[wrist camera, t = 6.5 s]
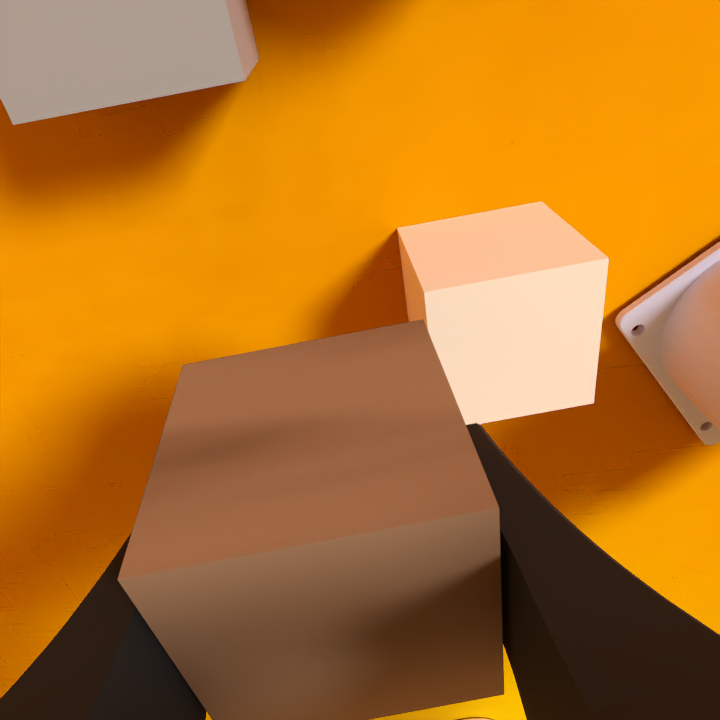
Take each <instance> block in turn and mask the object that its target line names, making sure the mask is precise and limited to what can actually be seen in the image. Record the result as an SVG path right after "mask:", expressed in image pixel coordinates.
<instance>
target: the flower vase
mask: <svg viewBox="0 0 720 720" xmlns="http://www.w3.org/2000/svg"><path fill="white" fill-rule="evenodd" d="M462 720H492V719H486V718H470V719H462Z"/></svg>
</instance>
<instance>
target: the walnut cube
mask: <svg viewBox="0 0 720 720" xmlns="http://www.w3.org/2000/svg"><path fill="white" fill-rule="evenodd" d="M117 580H118V581H119V583H120V584H121V586H122V587H123V589H124V590H125V592H126V593H127V595H128V596H129V597H130V599H131V600H132V602H133V603H134V605H135V606H136V608H137V609H138V611H139V612H140V614H141V615H142V617H143V618H144V620H145V621H146V623H147V624H148V625H149V627H150V628H151V630H152V631H153V633H154V634H155V636H156V637H157V639H158V640H159V642H160V643H161V645H162V646H163V648H164V649H165V651H166V652H167V653H168V655H169V656H170V658H171V659H172V661H173V662H174V664H175V665H176V667H177V668H178V670H179V671H180V673H181V674H182V676H183V677H184V679H185V680H186V681H187V683H188V684H189V686H190V687H191V689H192V690H193V692H194V693H195V695H196V696H197V698H198V699H199V701H200V702H201V704H202V705H203V707H204V708H205V709H206V711H207V712H208V714H209V715H210V717H211V718H212V720H369V719H374V718H380V717H385V716H390V715H396V714H401V713H407V712H412V711H417V710H423V709H428V708H433V707H439V706H444V705H449V704H455V703H460V702H465V701H471V700H476V699H482V698H487V697H492V696H498V695H503V694H504V671H503V633H502V594H501V556H500V518H499V506H498V503H497V501H496V498H495V496H494V494H493V491H492V489H491V486H490V484H489V481H488V479H487V476H486V474H485V471H484V469H483V466H482V464H481V461H480V459H479V456H478V454H477V451H476V449H475V446H474V444H473V441H472V439H471V436H470V434H469V432H468V429H467V427H466V424H465V422H464V419H463V417H462V414H461V412H460V409H459V407H458V404H457V402H456V399H455V397H454V394H453V392H452V389H451V387H450V384H449V382H448V379H447V377H446V375H445V372H444V370H443V367H442V365H441V362H440V360H439V357H438V355H437V352H436V350H435V347H434V345H433V342H432V340H431V337H430V335H429V332H428V330H427V327H426V325H425V322H424V320H423V319H422V320H417V321H411V322H406V323H401V324H396V325H390V326H385V327H380V328H374V329H369V330H364V331H359V332H353V333H348V334H343V335H338V336H332V337H327V338H322V339H317V340H311V341H306V342H301V343H296V344H290V345H285V346H280V347H275V348H269V349H264V350H259V351H254V352H248V353H243V354H238V355H233V356H227V357H222V358H217V359H212V360H206V361H201V362H196V363H191V364H185V365H183V367H182V370H181V373H180V377H179V380H178V383H177V386H176V390H175V393H174V396H173V400H172V403H171V406H170V409H169V413H168V416H167V419H166V422H165V426H164V429H163V432H162V435H161V439H160V442H159V445H158V449H157V452H156V455H155V458H154V462H153V465H152V468H151V471H150V475H149V478H148V481H147V485H146V488H145V491H144V494H143V498H142V501H141V504H140V507H139V511H138V514H137V517H136V520H135V524H134V527H133V530H132V534H131V537H130V540H129V543H128V547H127V550H126V553H125V556H124V560H123V563H122V566H121V570H120V573H119V576H118V579H117Z"/></svg>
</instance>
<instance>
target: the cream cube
mask: <svg viewBox="0 0 720 720" xmlns="http://www.w3.org/2000/svg"><path fill="white" fill-rule="evenodd" d="M397 232H398V240H399V248H400V256H401V264H402V272H403V280H404V288H405V296H406V304H407V312H408V320H409V322H411V321H417V320H422V319H423V320H424V322H425V325H426V327H427V330H428V332H429V335H430V337H431V340H432V342H433V345H434V347H435V350H436V352H437V355H438V357H439V360H440V362H441V365H442V367H443V370H444V372H445V375H446V377H447V379H448V382H449V384H450V387H451V389H452V392H453V394H454V397H455V399H456V402H457V404H458V407H459V409H460V412H461V414H462V417H463V419H464V422H465V424H466V425H468V424H473V423H477V424H482V423H488V422H493V421H499V420H504V419H510V418H515V417H521V416H526V415H532V414H537V413H543V412H548V411H554V410H559V409H565V408H570V407H576V406H582V405H587V404H593V403H594V396H595V387H596V377H597V368H598V358H599V348H600V339H601V329H602V320H603V310H604V301H605V291H606V281H607V272H608V262H609V258H608V257H607V256H606V255H605V254H603V253H602V252H601V251H600V250H599V249H597V248H596V247H595V246H594V245H593V244H591V243H590V242H589V241H588V240H587V239H586V238H584V237H583V236H582V235H581V234H580V233H578V232H577V231H576V230H575V229H574V228H572V227H571V226H570V225H569V224H568V223H567V222H565V221H564V220H563V219H562V218H561V217H559V216H558V215H557V214H556V213H555V212H553V211H552V210H551V209H550V208H549V207H548V206H546V205H545V204H544V203H543V202H542V201H541V202H535V203H530V204H524V205H519V206H514V207H508V208H503V209H498V210H492V211H487V212H481V213H476V214H471V215H465V216H460V217H455V218H449V219H444V220H438V221H433V222H428V223H422V224H417V225H412V226H406V227H401V228H397Z"/></svg>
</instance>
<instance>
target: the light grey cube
mask: <svg viewBox="0 0 720 720" xmlns="http://www.w3.org/2000/svg"><path fill="white" fill-rule="evenodd" d="M258 60H259V55H258V50H257V46H256V42H255V37H254V33H253V29H252V24H251V20H250V16H249V11H248V7H247V3H246V0H0V99H1V101H2V103H3V105H4V107H5V109H6V111H7V113H8V115H9V117H10V119H11V122H12V124H13V125H16V124H21V123H27V122H32V121H37V120H42V119H48V118H53V117H58V116H63V115H68V114H74V113H79V112H84V111H89V110H94V109H100V108H105V107H110V106H115V105H121V104H126V103H131V102H136V101H141V100H147V99H152V98H157V97H162V96H167V95H173V94H178V93H183V92H188V91H194V90H199V89H204V88H209V87H214V86H220V85H225V84H230V83H235V82H240V81H245V80H246V79H247V77H248V76H249V74H250V73H251V71H252V70H253V68H254V66H255V65H256V63H257V62H258Z"/></svg>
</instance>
